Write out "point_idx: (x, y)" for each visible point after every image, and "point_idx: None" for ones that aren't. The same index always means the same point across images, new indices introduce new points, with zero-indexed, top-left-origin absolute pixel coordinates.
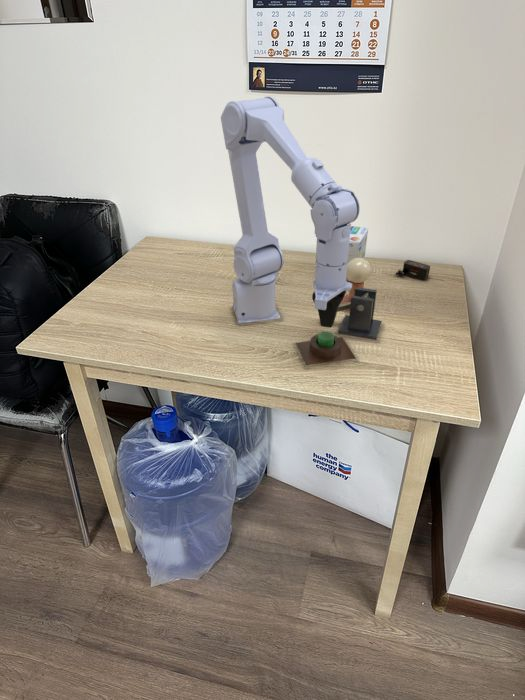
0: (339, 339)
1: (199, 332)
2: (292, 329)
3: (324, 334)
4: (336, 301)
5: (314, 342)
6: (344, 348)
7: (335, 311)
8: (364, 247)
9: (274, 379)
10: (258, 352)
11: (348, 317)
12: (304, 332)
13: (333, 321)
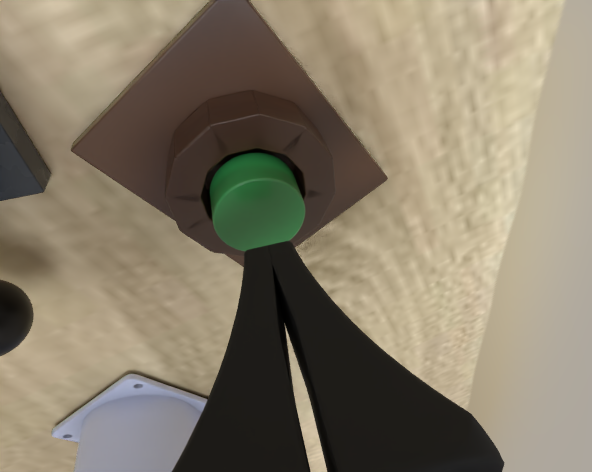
0: (191, 147)
1: None
2: (158, 321)
3: (252, 230)
4: (499, 468)
5: None
6: (176, 89)
7: (373, 342)
8: None
9: (479, 221)
10: (349, 317)
11: None
12: (147, 286)
13: (305, 268)
